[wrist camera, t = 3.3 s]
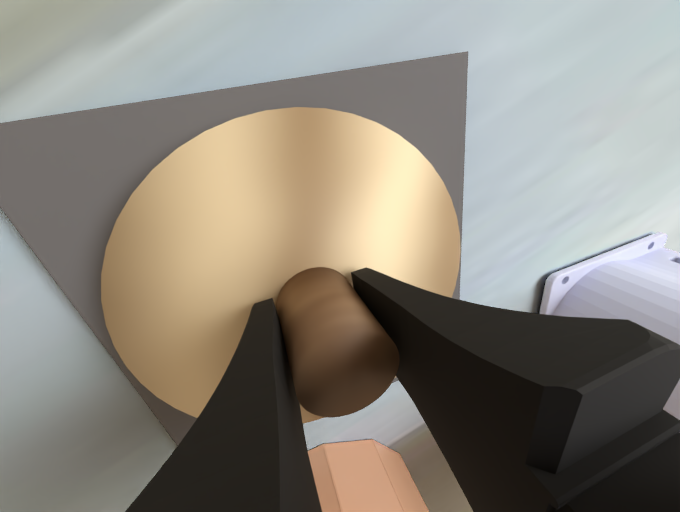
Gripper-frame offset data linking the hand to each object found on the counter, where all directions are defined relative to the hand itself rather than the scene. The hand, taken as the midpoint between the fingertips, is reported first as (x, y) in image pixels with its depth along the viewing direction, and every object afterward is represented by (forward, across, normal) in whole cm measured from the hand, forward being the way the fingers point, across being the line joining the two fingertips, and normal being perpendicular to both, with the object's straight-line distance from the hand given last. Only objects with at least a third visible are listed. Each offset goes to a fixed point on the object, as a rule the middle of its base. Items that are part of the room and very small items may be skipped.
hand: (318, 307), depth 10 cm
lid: (+1, 0, 0) cm, 1 cm away
